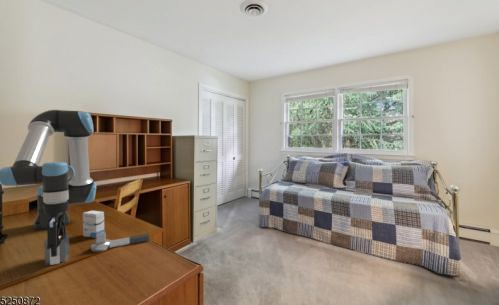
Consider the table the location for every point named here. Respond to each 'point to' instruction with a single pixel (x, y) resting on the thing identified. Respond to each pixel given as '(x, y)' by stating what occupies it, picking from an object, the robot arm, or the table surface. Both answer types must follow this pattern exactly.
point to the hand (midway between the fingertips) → (57, 259)
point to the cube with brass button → (63, 249)
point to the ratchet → (116, 241)
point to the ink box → (93, 223)
